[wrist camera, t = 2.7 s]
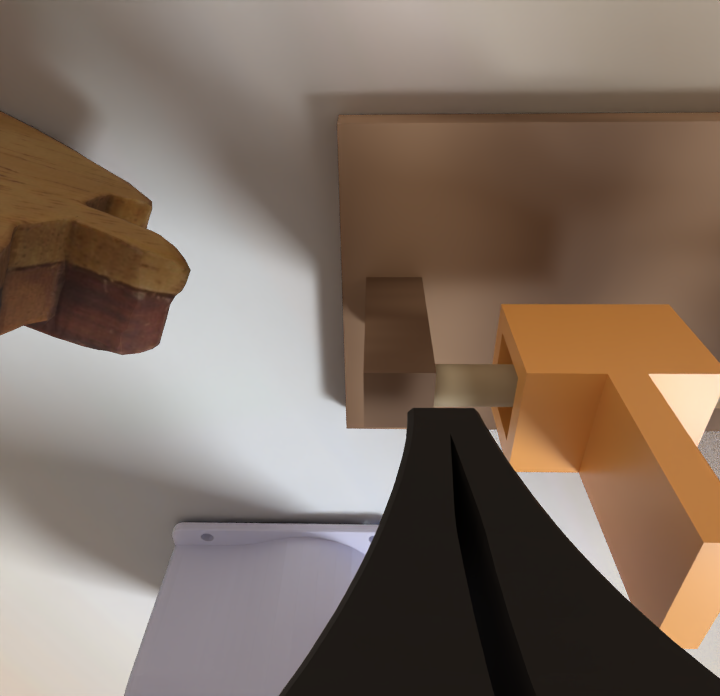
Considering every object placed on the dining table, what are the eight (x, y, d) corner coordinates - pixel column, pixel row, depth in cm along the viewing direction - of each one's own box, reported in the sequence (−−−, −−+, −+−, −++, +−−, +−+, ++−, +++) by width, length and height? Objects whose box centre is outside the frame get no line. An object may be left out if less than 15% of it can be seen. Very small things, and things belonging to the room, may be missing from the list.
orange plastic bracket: (487, 394, 15) (553, 646, 10) (501, 304, 14) (589, 541, 8) (638, 395, 15) (793, 650, 10) (669, 304, 14) (876, 544, 8)
